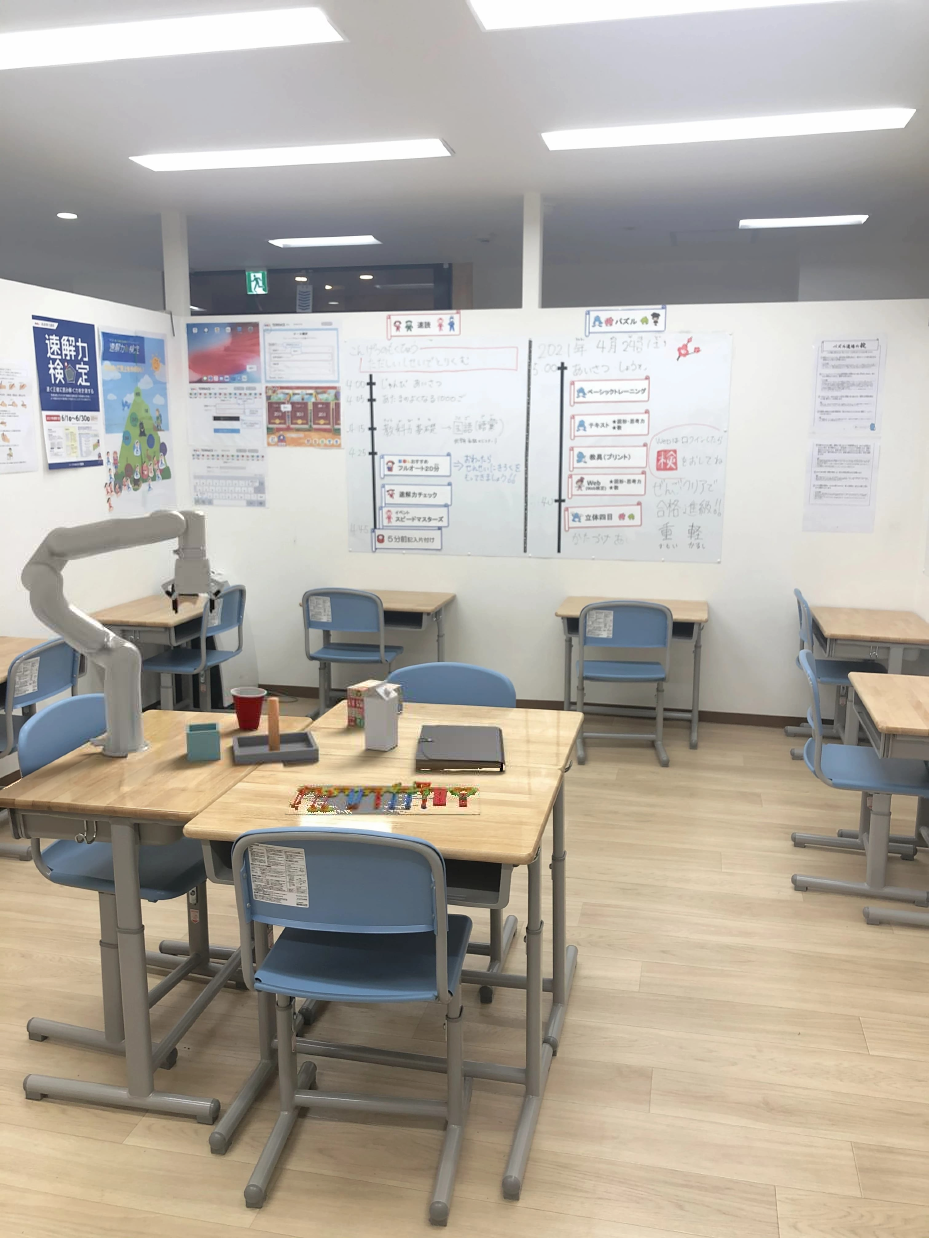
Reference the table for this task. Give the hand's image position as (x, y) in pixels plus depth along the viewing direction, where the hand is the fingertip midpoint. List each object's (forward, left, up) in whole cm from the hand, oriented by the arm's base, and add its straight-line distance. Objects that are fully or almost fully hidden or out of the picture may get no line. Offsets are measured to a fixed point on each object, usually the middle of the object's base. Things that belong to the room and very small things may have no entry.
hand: (193, 612), depth 266 cm
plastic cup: (+15, +7, -38) cm, 41 cm away
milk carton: (+50, -23, -38) cm, 67 cm away
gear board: (+43, -66, -38) cm, 87 cm away
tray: (+20, -22, -37) cm, 48 cm away
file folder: (+71, -34, -38) cm, 87 cm away
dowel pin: (+20, -22, -36) cm, 47 cm away
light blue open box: (+1, -21, -37) cm, 43 cm away
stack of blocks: (+54, +7, -38) cm, 67 cm away
